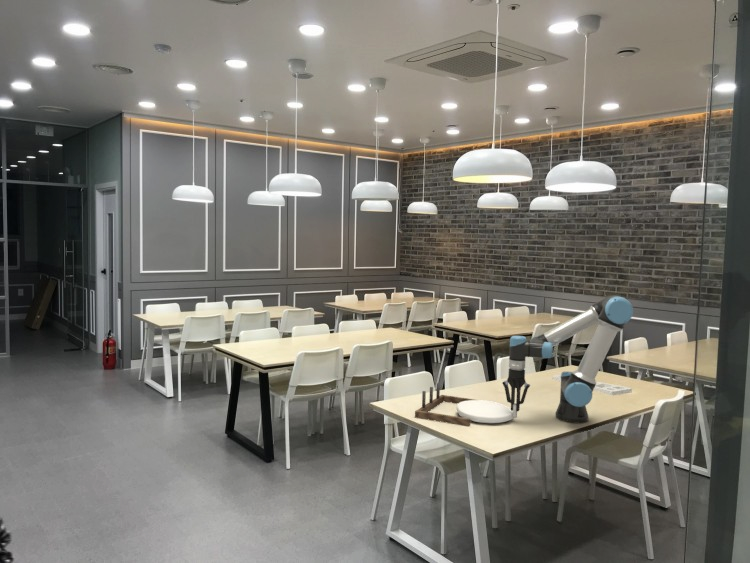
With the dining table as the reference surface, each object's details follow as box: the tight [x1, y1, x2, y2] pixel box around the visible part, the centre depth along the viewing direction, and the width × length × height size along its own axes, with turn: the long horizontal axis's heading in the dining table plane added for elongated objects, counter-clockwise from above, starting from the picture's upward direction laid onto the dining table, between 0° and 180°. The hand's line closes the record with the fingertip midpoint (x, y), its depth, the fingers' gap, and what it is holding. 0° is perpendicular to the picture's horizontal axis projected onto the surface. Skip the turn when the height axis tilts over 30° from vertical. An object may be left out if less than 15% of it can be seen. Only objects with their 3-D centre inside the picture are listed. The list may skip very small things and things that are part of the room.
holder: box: [551, 374, 633, 396], centre depth 356 cm, size 45×18×3 cm, turn 30°
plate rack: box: [414, 382, 476, 427], centre depth 289 cm, size 27×37×11 cm
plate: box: [456, 399, 514, 424], centre depth 282 cm, size 28×6×27 cm
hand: (514, 417), depth 276 cm, fingers closed
